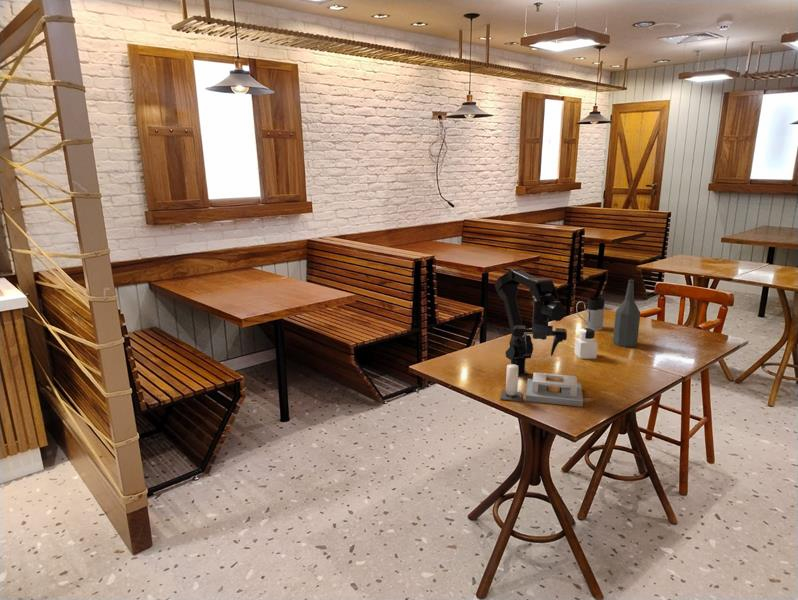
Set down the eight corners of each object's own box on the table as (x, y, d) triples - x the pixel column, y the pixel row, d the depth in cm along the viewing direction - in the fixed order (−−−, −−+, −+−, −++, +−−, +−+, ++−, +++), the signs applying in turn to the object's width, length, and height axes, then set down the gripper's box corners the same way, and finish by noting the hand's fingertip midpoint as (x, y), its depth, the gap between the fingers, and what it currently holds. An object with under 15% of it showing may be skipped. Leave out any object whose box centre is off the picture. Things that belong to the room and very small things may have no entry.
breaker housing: (527, 383, 206) (528, 368, 204) (580, 388, 201) (581, 373, 199) (525, 400, 191) (526, 384, 189) (582, 406, 186) (584, 390, 184)
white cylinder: (504, 393, 195) (505, 364, 193) (514, 392, 196) (516, 363, 193) (507, 398, 191) (508, 368, 189) (518, 397, 192) (520, 368, 189)
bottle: (631, 340, 254) (638, 277, 247) (640, 347, 245) (647, 282, 238) (609, 340, 255) (615, 277, 247) (617, 347, 245) (623, 282, 238)
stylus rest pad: (502, 391, 198) (502, 390, 198) (521, 394, 196) (521, 392, 196) (500, 399, 191) (500, 398, 191) (520, 402, 190) (520, 400, 190)
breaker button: (547, 391, 198) (548, 384, 197) (559, 392, 197) (559, 385, 196) (547, 395, 194) (548, 388, 194) (559, 396, 193) (560, 390, 193)
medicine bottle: (590, 353, 238) (592, 326, 235) (596, 358, 231) (598, 331, 228) (574, 353, 238) (576, 326, 235) (579, 359, 231) (582, 331, 228)
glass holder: (606, 330, 270) (608, 300, 267) (577, 330, 270) (579, 301, 266) (599, 325, 279) (602, 296, 275) (571, 325, 278) (574, 296, 275)
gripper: (513, 318, 192) (511, 359, 196) (568, 321, 187) (565, 364, 191) (515, 310, 203) (513, 349, 206) (567, 313, 198) (564, 354, 202)
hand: (538, 354), depth 201 cm, fingers open, 9 cm apart
